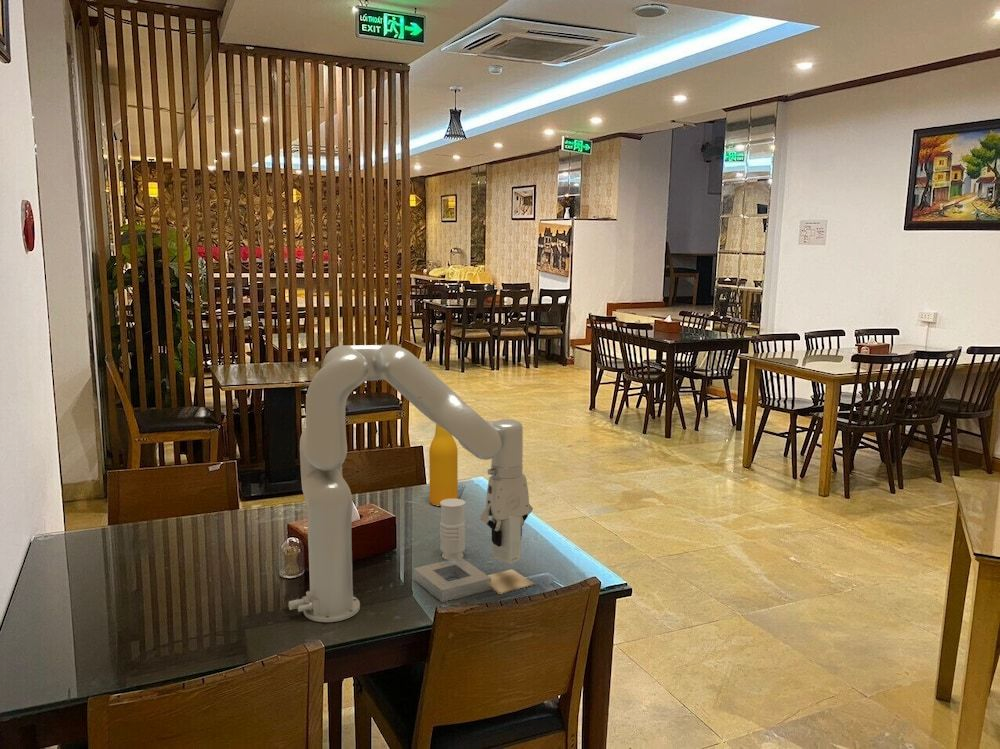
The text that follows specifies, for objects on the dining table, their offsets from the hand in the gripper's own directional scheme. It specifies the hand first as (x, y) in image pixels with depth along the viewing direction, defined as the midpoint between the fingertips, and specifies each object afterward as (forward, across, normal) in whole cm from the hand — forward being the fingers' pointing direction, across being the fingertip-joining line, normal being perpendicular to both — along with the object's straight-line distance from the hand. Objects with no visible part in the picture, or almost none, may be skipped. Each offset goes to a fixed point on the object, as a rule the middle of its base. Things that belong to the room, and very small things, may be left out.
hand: (506, 541), depth 188 cm
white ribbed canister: (+11, -3, +22) cm, 25 cm away
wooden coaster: (+11, 0, 0) cm, 11 cm away
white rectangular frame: (+11, -12, +6) cm, 17 cm away
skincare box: (+5, 0, 0) cm, 5 cm away
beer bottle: (+11, +16, +63) cm, 66 cm away
